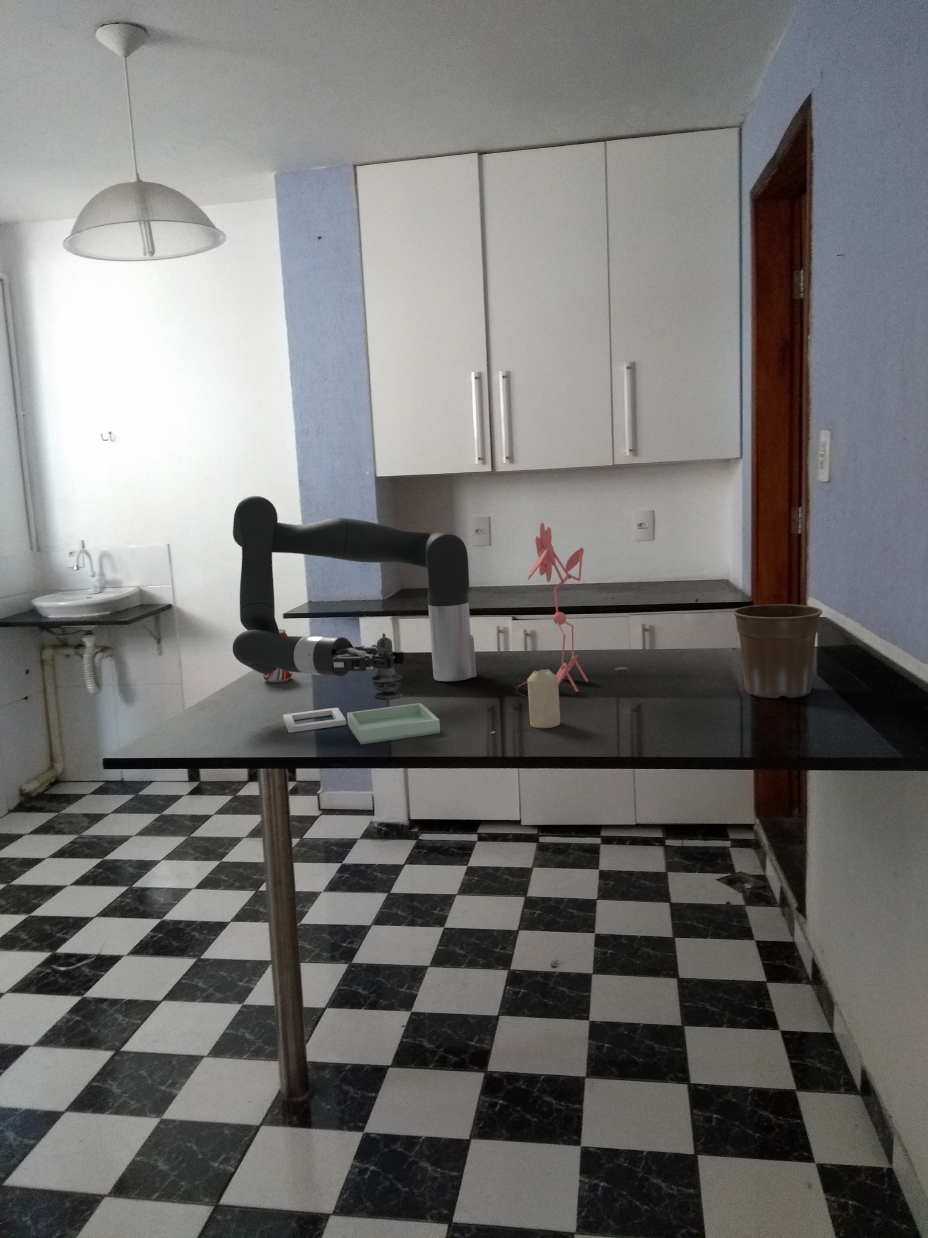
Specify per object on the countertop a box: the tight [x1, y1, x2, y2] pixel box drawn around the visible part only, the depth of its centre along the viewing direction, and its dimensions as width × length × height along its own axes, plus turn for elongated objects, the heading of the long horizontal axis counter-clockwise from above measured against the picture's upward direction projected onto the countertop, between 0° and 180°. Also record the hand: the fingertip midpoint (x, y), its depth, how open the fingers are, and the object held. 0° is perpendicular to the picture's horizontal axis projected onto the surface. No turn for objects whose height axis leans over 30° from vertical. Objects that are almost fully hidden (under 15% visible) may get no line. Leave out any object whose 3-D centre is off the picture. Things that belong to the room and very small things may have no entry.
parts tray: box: [346, 702, 441, 745], centre depth 179 cm, size 15×15×2 cm
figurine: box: [514, 522, 589, 698], centre depth 202 cm, size 15×26×35 cm, turn 160°
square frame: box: [282, 707, 347, 733], centre depth 188 cm, size 11×11×1 cm
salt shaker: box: [370, 632, 403, 701], centre depth 177 cm, size 6×6×12 cm
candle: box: [526, 669, 561, 729], centre depth 174 cm, size 6×6×10 cm
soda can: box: [262, 628, 293, 684], centre depth 231 cm, size 7×7×12 cm
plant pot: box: [732, 603, 823, 699], centre depth 185 cm, size 16×16×16 cm
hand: (398, 660), depth 176 cm, fingers closed on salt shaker, 3 cm apart
